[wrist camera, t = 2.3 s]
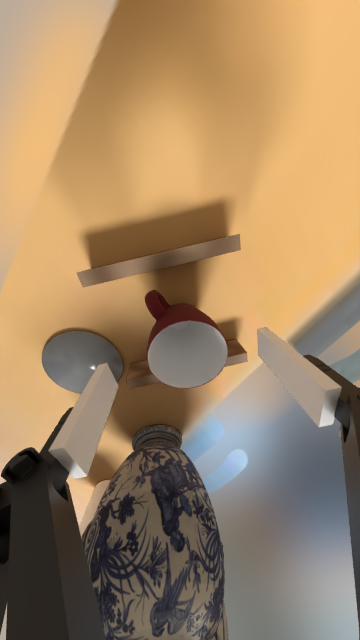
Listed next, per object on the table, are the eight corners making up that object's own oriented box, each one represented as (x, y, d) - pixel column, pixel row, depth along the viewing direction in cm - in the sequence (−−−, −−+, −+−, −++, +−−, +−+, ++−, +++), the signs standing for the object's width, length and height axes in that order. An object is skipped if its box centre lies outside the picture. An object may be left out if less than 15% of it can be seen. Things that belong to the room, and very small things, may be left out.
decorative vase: (100, 463, 37) (-35, 931, 12) (112, 403, 31) (-124, 1127, 5) (190, 468, 42) (236, 823, 16) (217, 416, 35) (365, 863, 10)
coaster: (66, 398, 30) (65, 400, 29) (27, 341, 25) (25, 342, 24) (132, 382, 29) (132, 384, 29) (106, 322, 25) (105, 324, 24)
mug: (128, 308, 24) (106, 344, 15) (167, 267, 22) (169, 280, 13) (179, 350, 28) (186, 400, 19) (216, 317, 26) (244, 355, 17)
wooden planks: (134, 371, 29) (129, 389, 25) (91, 268, 22) (76, 272, 18) (236, 347, 28) (247, 361, 25) (226, 236, 22) (239, 234, 18)
